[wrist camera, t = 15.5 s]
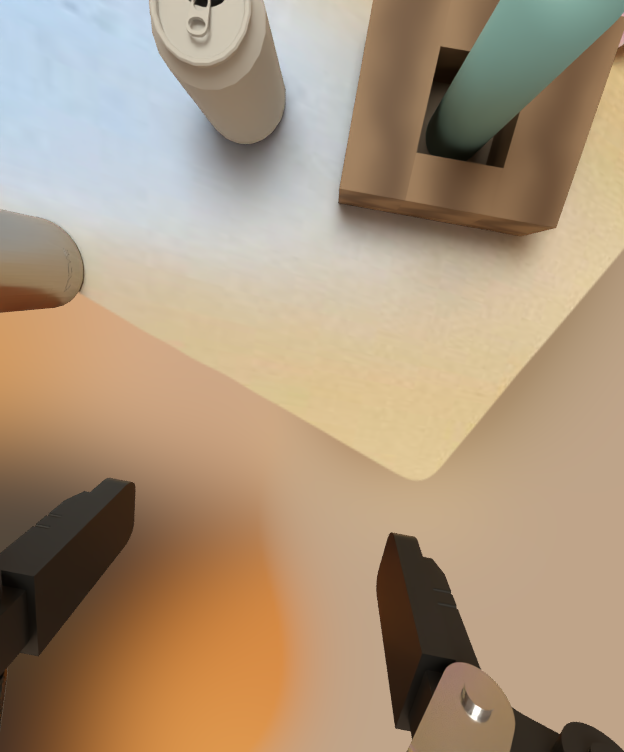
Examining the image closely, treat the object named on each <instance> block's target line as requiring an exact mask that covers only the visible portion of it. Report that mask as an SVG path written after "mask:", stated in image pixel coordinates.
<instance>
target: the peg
mask: <svg viewBox="0 0 624 752" xmlns="http://www.w3.org/2000/svg"><path fill="white" fill-rule="evenodd" d="M623 13H624V0H500V1H499V3H498V5H497V6H496V8H495V10H494V11H493V13H492V15H491V17H490V18H489V20H488V22H487V23H486V25H485V27H484V29H483V30H482V32H481V34H480V35H479V37H478V39H477V40H476V42H475V44H474V46H473V47H472V49H471V51H470V52H469V54H468V56H467V57H466V59H465V61H464V63H463V64H462V66H461V68H460V69H459V71H458V73H457V75H456V76H455V78H454V80H453V81H452V83H451V85H450V86H449V88H448V90H447V92H446V93H445V95H444V97H443V98H442V100H441V102H440V103H439V105H438V107H437V109H436V110H435V112H434V114H433V115H432V117H431V119H430V121H429V123H428V126H427V129H426V145H427V148H428V151H429V153H430V154H431V155H433V156H438V157H444V158H449V159H455V160H460V161H467V160H468V159H470V158H471V157H472V156H473V155H474V154H475V153H476V152H477V151H478V150H479V149H481V148H482V147H483V146H484V145H485V144H486V143H487V142H488V141H489V140H490V139H491V138H492V137H493V136H494V135H496V134H497V133H498V132H499V131H500V130H501V129H502V128H503V127H504V126H505V125H506V124H507V123H508V122H509V121H510V120H512V119H513V118H514V117H515V116H516V115H517V114H518V113H519V112H520V111H521V110H522V109H523V108H524V107H525V106H526V105H528V104H529V103H530V102H531V101H532V100H533V99H534V98H535V97H536V96H537V95H538V94H539V93H540V92H541V91H542V90H544V89H545V88H546V87H547V86H548V85H549V84H550V83H551V82H552V81H553V80H554V79H555V78H556V77H557V76H558V75H560V74H561V73H562V72H563V71H564V70H565V69H566V68H567V67H568V66H569V65H570V64H571V63H572V62H573V61H574V60H576V59H577V58H578V57H579V56H580V55H581V54H582V53H583V52H584V51H585V50H586V49H587V48H588V47H589V46H590V45H592V44H593V43H594V42H595V41H596V40H597V39H598V38H599V37H600V36H601V35H602V34H603V33H604V32H605V31H606V30H608V29H609V28H610V27H611V26H612V25H613V24H614V23H615V22H616V21H617V20H618V19H619V17H620V16H621V15H622V14H623Z"/></svg>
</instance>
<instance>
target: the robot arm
mask: <svg viewBox="0 0 624 752" xmlns="http://www.w3.org/2000/svg"><path fill="white" fill-rule="evenodd" d="M82 281H83V263H82V259H81V256H80V253H79V251H78V249H77V247H76V245H75V243H74V241H73V240H72V239H71V237H70V236H69V235H68V234H67V233H66V232H65V231H64V230H63V229H62V228H61V227H59V226H58V225H56V224H54V223H53V222H51V221H48V220H46V219H43V218H38V217H34V216H29V215H24V214H20V213H15V212H11V211H7V210H2V209H0V312H12V311H24V310H34V309H45V308H55V307H59V306H62V305H64V304H66V303H68V302H70V301H71V300H72V299H73V298H74V297H75V296H76V294H77V293H78V291H79V290H80V287H81V284H82ZM134 510H135V484H134V483H133V482H128V481H123V480H118V479H113V478H107V479H105V480H104V481H102V482H101V483H100V484H99V485H98V486H97V487H96V488H94V489H93V490H92V491H91V492H85V491H84V492H82V493H80V494H78V495H75V496H73V497H71V498H69V499H67V500H65V501H63V502H62V503H61V504H60V505H59V506H57V507H56V508H55V509H54V510H53V511H51V512H50V513H49V515H48V516H45V517H44V518H43V519H41V520H40V521H39V522H38V523H37V524H36V526H35V527H34V526H33V527H32V528H30V529H29V530H28V531H27V532H25V533H24V534H23V535H22V536H21V537H19V538H18V539H17V540H16V541H14V542H13V543H12V544H11V545H10V546H8V547H7V548H6V549H5V550H4V551H2V552H1V553H0V727H1V719H2V712H3V704H4V697H5V690H6V682H7V672H8V671H7V667H8V666H9V665H10V664H11V662H12V661H13V660H14V659H15V658H16V657H17V655H18V654H19V653H24V654H29V655H35V656H39V655H40V654H41V652H42V651H43V650H44V649H45V647H46V646H47V645H48V644H49V642H50V641H51V640H52V638H53V637H54V636H55V634H56V633H57V632H58V631H59V630H60V628H61V627H62V625H63V624H64V623H65V622H66V621H67V619H68V618H69V617H70V615H71V614H72V613H73V612H74V610H75V609H76V608H77V606H78V605H79V604H80V603H81V601H82V600H83V599H84V598H85V596H86V595H87V594H88V592H89V591H90V590H91V589H92V587H93V586H94V585H95V584H96V582H97V581H98V580H99V578H100V577H101V576H102V575H103V573H104V572H105V571H106V570H107V568H108V567H109V566H110V564H111V563H112V562H113V561H114V559H115V558H116V557H117V556H118V554H119V553H120V551H121V550H122V549H123V548H124V547H125V545H126V544H127V542H128V540H129V538H130V536H131V533H132V531H133V526H134ZM376 587H377V588H376V591H377V600H378V608H379V615H380V622H381V629H382V635H383V643H384V650H385V658H386V665H387V672H388V679H389V687H390V693H391V701H392V708H393V715H394V723H395V728H396V729H401V730H407V731H411V736H412V742H411V744H410V746H409V748H408V750H407V752H624V751H623V750H622V749H621V748H620V747H619V746H618V745H617V744H616V743H615V742H614V741H613V740H611V739H610V738H609V737H607V736H606V735H605V734H604V733H602V732H600V731H599V730H597V729H596V728H594V727H592V726H589V725H587V724H584V723H580V722H571V723H568V724H567V725H566V726H564V728H563V730H562V732H561V733H560V734H558V733H557V732H554V731H553V730H551V729H549V728H547V727H545V726H543V725H542V724H540V723H538V722H536V721H534V720H532V719H530V718H529V717H527V716H525V715H523V714H521V713H520V712H518V711H516V710H515V709H514V708H512V707H511V705H510V702H509V701H508V699H507V697H506V695H505V694H504V692H503V691H502V689H501V688H500V687H499V686H498V684H497V683H496V682H495V681H494V680H493V679H492V678H491V677H490V676H488V675H487V674H486V673H485V672H483V671H482V670H481V668H480V667H479V664H478V661H477V658H476V656H475V653H474V651H473V648H472V645H471V643H470V640H469V637H468V635H467V632H466V630H465V627H464V624H463V622H462V619H461V617H460V614H459V611H458V609H456V603H455V601H454V598H453V595H451V590H450V588H449V585H448V582H447V579H446V577H445V574H444V573H443V572H442V570H441V569H440V568H439V567H438V566H437V564H436V563H435V562H434V560H433V559H431V558H426V557H423V556H422V553H421V550H420V547H419V544H418V541H417V539H416V538H415V537H413V536H407V535H402V534H397V533H390V534H389V537H388V539H387V543H386V546H385V549H384V553H383V556H382V560H381V563H380V567H379V571H378V575H377V585H376Z"/></svg>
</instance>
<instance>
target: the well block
mask: <svg viewBox="0 0 624 752" xmlns="http://www.w3.org/2000/svg"><path fill="white" fill-rule="evenodd" d="M499 1H500V0H373V4H372V9H371V15H370V21H369V26H368V32H367V37H366V43H365V49H364V54H363V60H362V65H361V71H360V76H359V82H358V88H357V93H356V99H355V104H354V110H353V116H352V121H351V127H350V132H349V138H348V143H347V149H346V155H345V160H344V166H343V171H342V177H341V182H340V188H339V202H338V203H341V204H347V205H352V206H358V207H363V208H369V209H374V210H380V211H385V212H391V213H396V214H402V215H407V216H413V217H418V218H424V219H429V220H435V221H440V222H445V223H451V224H456V225H462V226H467V227H473V228H478V229H484V230H489V231H495V232H500V233H506V234H511V235H517V236H524V235H528V234H532V233H536V232H541V231H545V230H549V229H553V228H556V226H557V224H558V221H559V218H560V215H561V212H562V209H563V206H564V203H565V200H566V197H567V195H568V192H569V189H570V186H571V183H572V180H573V177H574V174H575V171H576V168H577V166H578V163H579V160H580V157H581V154H582V151H583V148H584V145H585V142H586V139H587V137H588V134H589V131H590V128H591V125H592V122H593V119H594V116H595V113H596V110H597V108H598V105H599V102H600V99H601V96H602V93H603V90H604V87H605V84H606V81H607V79H608V76H609V73H610V70H611V67H612V64H613V61H614V58H615V55H616V52H617V50H618V47H619V44H620V41H621V38H622V35H623V32H624V16H620V17H619V19H618V20H617V21H616V22H615V23H614V24H613V25H612V26H611V27H610V28H609V29H608V30H606V31H605V32H604V33H603V34H602V35H601V36H600V37H599V38H598V39H597V40H596V41H595V42H594V43H593V44H592V45H590V46H589V47H588V48H587V49H586V50H585V51H584V52H583V53H582V54H581V55H580V56H579V57H578V58H577V59H576V60H574V61H573V62H572V63H571V64H570V65H569V66H568V67H567V68H566V69H565V70H564V71H563V72H562V73H561V74H560V75H558V76H557V77H556V78H555V79H554V80H553V81H552V82H551V83H550V84H549V85H548V86H547V87H546V88H545V89H544V90H542V91H541V92H540V93H539V94H538V95H537V96H536V97H535V98H534V99H533V100H532V101H531V102H530V103H529V104H528V105H526V106H525V107H524V108H523V109H522V110H521V111H520V112H519V113H518V114H517V115H516V116H515V117H514V118H513V119H512V120H510V121H509V122H508V123H507V124H506V125H505V126H504V127H503V128H502V129H501V130H500V131H499V132H498V133H497V134H496V135H494V136H493V137H492V138H491V139H490V140H489V141H488V142H487V143H486V144H485V145H484V146H483V147H482V148H481V149H479V150H478V151H477V152H476V153H475V154H474V155H473V156H472V157H471V158H470V159H468V160H467V161H460V160H455V159H449V158H444V157H438V156H433V155H431V154H430V153H429V151H428V148H427V145H426V129H427V126H428V123H429V121H430V119H431V117H432V115H433V114H434V112H435V110H436V109H437V107H438V105H439V103H440V102H441V100H442V98H443V97H444V95H445V93H446V92H447V90H448V88H449V86H450V85H451V83H452V81H453V80H454V78H455V76H456V75H457V73H458V71H459V69H460V68H461V66H462V64H463V63H464V61H465V59H466V57H467V56H468V54H469V52H470V51H471V49H472V47H473V46H474V44H475V42H476V40H477V39H478V37H479V35H480V34H481V32H482V30H483V29H484V27H485V25H486V23H487V22H488V20H489V18H490V17H491V15H492V13H493V11H494V10H495V8H496V6H497V5H498V3H499Z"/></svg>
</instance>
